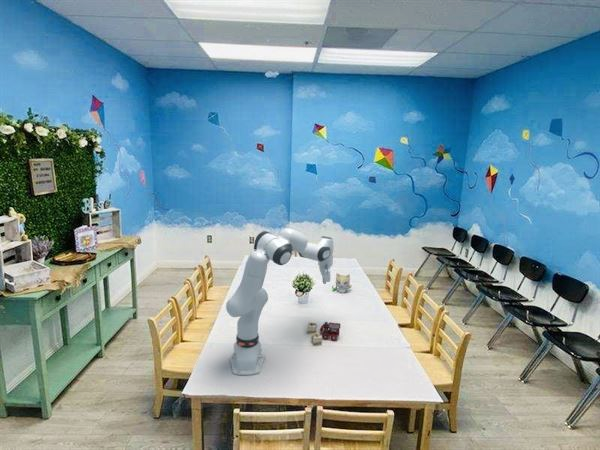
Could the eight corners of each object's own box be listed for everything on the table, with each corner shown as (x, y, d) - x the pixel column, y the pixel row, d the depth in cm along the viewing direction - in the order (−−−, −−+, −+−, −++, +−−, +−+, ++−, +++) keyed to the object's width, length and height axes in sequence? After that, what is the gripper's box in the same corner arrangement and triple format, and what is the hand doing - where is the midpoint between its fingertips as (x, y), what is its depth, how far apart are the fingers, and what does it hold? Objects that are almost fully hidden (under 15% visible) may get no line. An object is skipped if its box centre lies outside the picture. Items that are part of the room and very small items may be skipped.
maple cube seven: (315, 334, 236) (315, 326, 234) (307, 333, 236) (307, 326, 235) (316, 330, 240) (316, 323, 239) (308, 329, 241) (308, 322, 240)
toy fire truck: (320, 333, 237) (321, 318, 235) (340, 336, 235) (341, 320, 232) (318, 339, 230) (319, 323, 228) (339, 341, 228) (340, 326, 226)
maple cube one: (321, 345, 224) (322, 337, 223) (313, 346, 223) (313, 338, 222) (318, 340, 229) (319, 332, 228) (311, 341, 228) (311, 333, 226)
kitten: (331, 293, 297) (332, 275, 294) (333, 288, 307) (334, 270, 303) (350, 295, 294) (351, 277, 290) (351, 290, 303) (352, 272, 300)
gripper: (333, 268, 223) (332, 289, 227) (327, 256, 243) (326, 277, 246) (322, 268, 223) (321, 289, 226) (318, 256, 242) (317, 277, 246)
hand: (324, 283), depth 236 cm, fingers closed
